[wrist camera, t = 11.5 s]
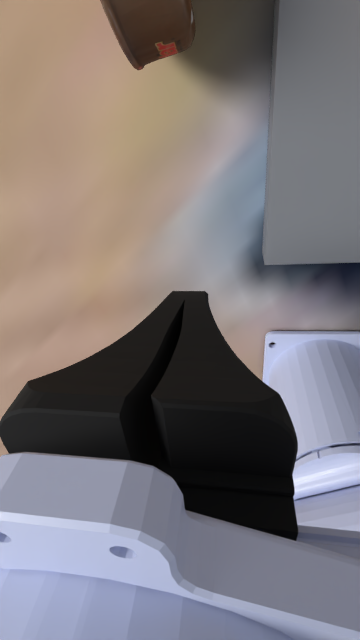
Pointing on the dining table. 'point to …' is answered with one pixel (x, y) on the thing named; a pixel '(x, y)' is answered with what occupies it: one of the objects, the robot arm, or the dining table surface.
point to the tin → (151, 28)
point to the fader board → (314, 134)
